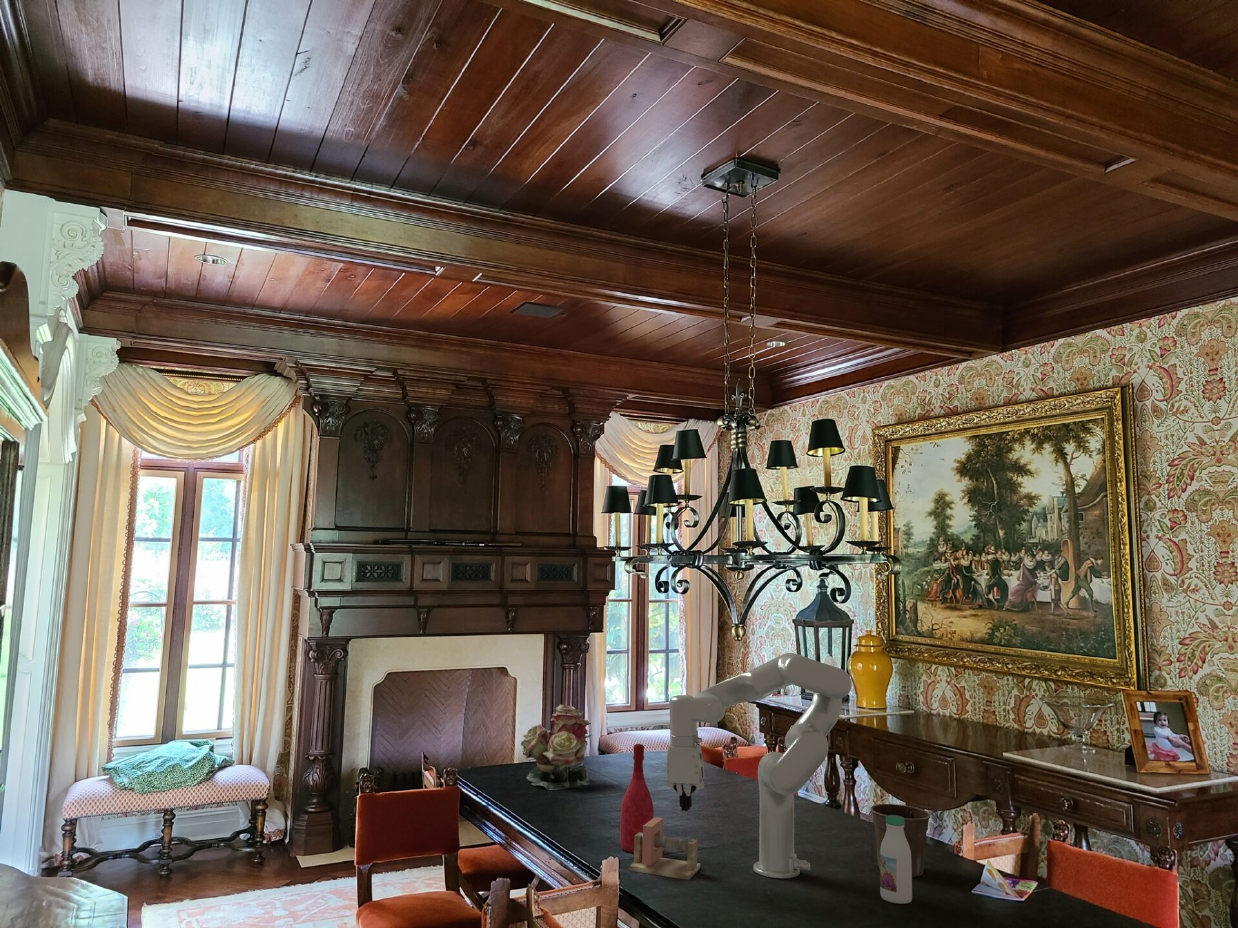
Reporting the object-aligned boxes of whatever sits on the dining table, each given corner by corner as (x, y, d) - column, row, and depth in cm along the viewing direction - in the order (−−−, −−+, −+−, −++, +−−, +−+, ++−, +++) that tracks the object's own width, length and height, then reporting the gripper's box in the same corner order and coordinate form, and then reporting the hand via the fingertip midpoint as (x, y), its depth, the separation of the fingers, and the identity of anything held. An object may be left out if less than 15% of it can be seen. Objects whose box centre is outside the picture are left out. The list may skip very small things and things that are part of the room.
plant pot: (942, 872, 241) (941, 812, 243) (914, 884, 230) (913, 821, 232) (889, 857, 253) (888, 800, 255) (860, 868, 242) (859, 808, 244)
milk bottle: (905, 893, 222) (904, 813, 225) (916, 904, 214) (915, 820, 217) (876, 893, 222) (875, 812, 225) (886, 904, 214) (885, 820, 217)
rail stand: (700, 867, 238) (700, 835, 239) (689, 879, 228) (689, 845, 229) (642, 859, 244) (643, 827, 245) (629, 870, 234) (630, 837, 235)
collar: (662, 855, 242) (663, 817, 243) (650, 865, 233) (651, 826, 234) (653, 853, 243) (654, 816, 244) (642, 863, 234) (643, 825, 235)
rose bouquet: (513, 778, 343) (517, 701, 348) (581, 774, 354) (584, 699, 359) (532, 792, 320) (536, 709, 324) (605, 787, 331) (607, 707, 335)
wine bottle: (624, 854, 248) (627, 747, 252) (615, 844, 257) (618, 741, 262) (657, 852, 250) (659, 746, 255) (647, 843, 260) (649, 740, 264)
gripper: (713, 739, 240) (715, 808, 238) (662, 737, 246) (664, 804, 243) (706, 744, 233) (708, 815, 231) (654, 742, 239) (655, 811, 236)
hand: (685, 809), depth 237 cm, fingers closed
